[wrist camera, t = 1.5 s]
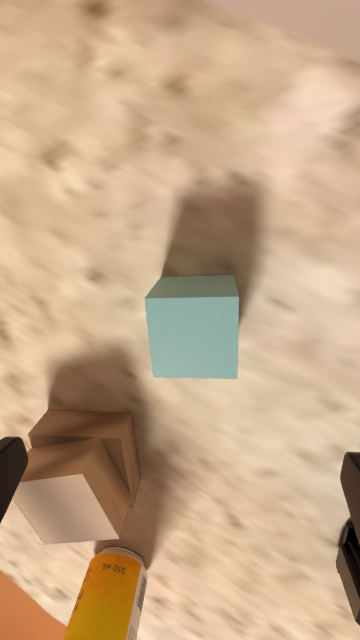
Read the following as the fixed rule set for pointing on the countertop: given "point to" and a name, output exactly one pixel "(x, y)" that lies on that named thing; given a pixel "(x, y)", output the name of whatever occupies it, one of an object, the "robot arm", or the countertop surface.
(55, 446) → the slab upper
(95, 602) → the beer can
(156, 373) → the teal cube
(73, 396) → the countertop surface
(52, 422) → the slab lower
